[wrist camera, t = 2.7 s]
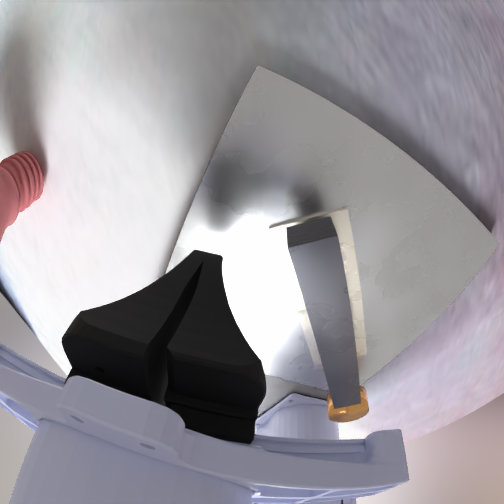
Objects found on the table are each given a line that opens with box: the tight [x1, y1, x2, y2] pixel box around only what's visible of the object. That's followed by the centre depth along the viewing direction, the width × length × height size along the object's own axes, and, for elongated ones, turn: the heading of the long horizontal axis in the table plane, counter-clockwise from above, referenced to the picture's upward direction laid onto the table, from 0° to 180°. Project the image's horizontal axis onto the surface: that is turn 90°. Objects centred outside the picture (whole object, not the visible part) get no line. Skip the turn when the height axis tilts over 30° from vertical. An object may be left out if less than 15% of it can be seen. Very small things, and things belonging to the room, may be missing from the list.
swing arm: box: [286, 216, 369, 422], centre depth 15 cm, size 17×3×2 cm, turn 19°
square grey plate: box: [165, 65, 499, 391], centre depth 16 cm, size 18×18×2 cm
